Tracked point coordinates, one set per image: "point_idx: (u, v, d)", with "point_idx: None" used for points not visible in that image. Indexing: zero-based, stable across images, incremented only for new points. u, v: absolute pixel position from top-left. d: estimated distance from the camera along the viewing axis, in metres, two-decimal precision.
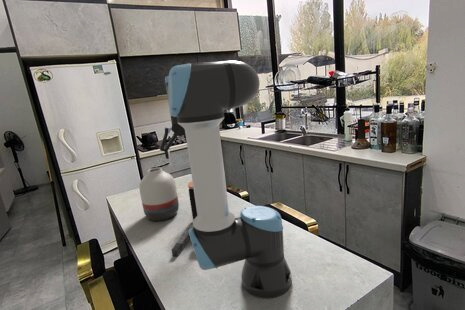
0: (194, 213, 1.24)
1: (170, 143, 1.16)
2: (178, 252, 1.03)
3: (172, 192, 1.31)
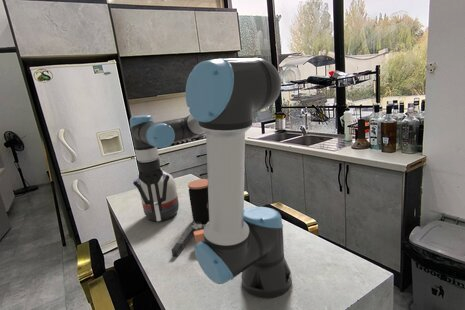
0: (194, 213, 1.24)
1: (150, 195, 1.01)
2: (178, 252, 1.03)
3: (172, 192, 1.31)
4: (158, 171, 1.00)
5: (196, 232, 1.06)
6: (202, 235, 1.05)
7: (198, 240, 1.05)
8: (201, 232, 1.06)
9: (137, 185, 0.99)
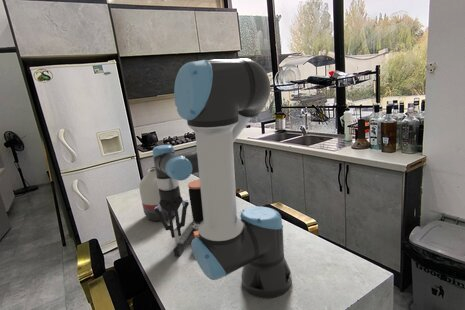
0: (194, 213, 1.24)
1: (170, 221, 1.05)
2: (180, 252, 1.03)
3: None
4: (178, 198, 1.04)
5: (196, 232, 1.06)
6: None
7: None
8: None
9: (158, 212, 1.03)
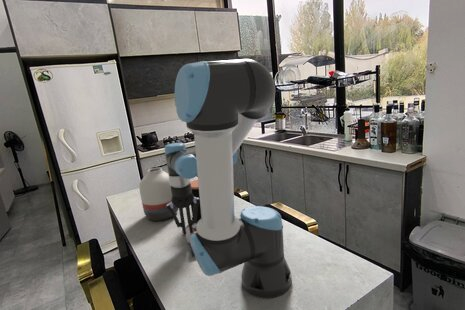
0: None
1: (182, 218, 1.06)
2: None
3: None
4: (190, 195, 1.05)
5: (196, 232, 1.06)
6: None
7: None
8: None
9: (170, 209, 1.04)
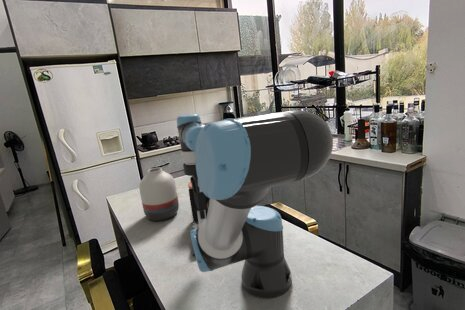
0: (194, 213, 1.24)
1: (195, 197, 0.97)
2: None
3: (172, 192, 1.31)
4: (194, 178, 0.91)
5: None
6: None
7: None
8: None
9: None
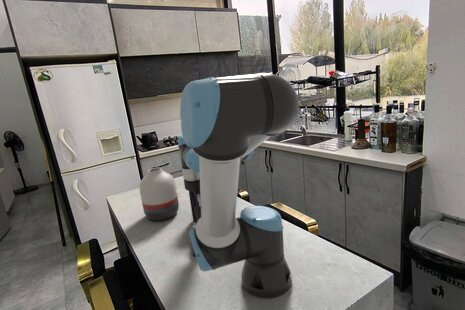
0: (194, 213, 1.24)
1: (195, 210, 1.04)
2: None
3: (172, 192, 1.31)
4: (194, 193, 0.98)
5: None
6: None
7: None
8: None
9: None
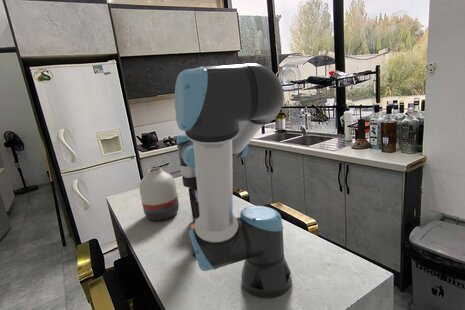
0: None
1: (193, 205, 1.09)
2: None
3: (172, 192, 1.31)
4: (192, 189, 1.03)
5: (193, 225, 1.12)
6: None
7: None
8: None
9: None
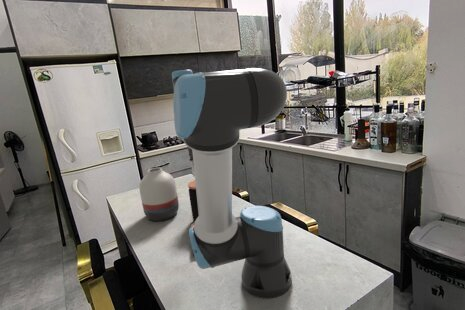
0: (194, 213, 1.24)
1: (189, 149, 1.06)
2: None
3: (172, 192, 1.31)
4: None
5: (193, 225, 1.12)
6: None
7: None
8: None
9: None
